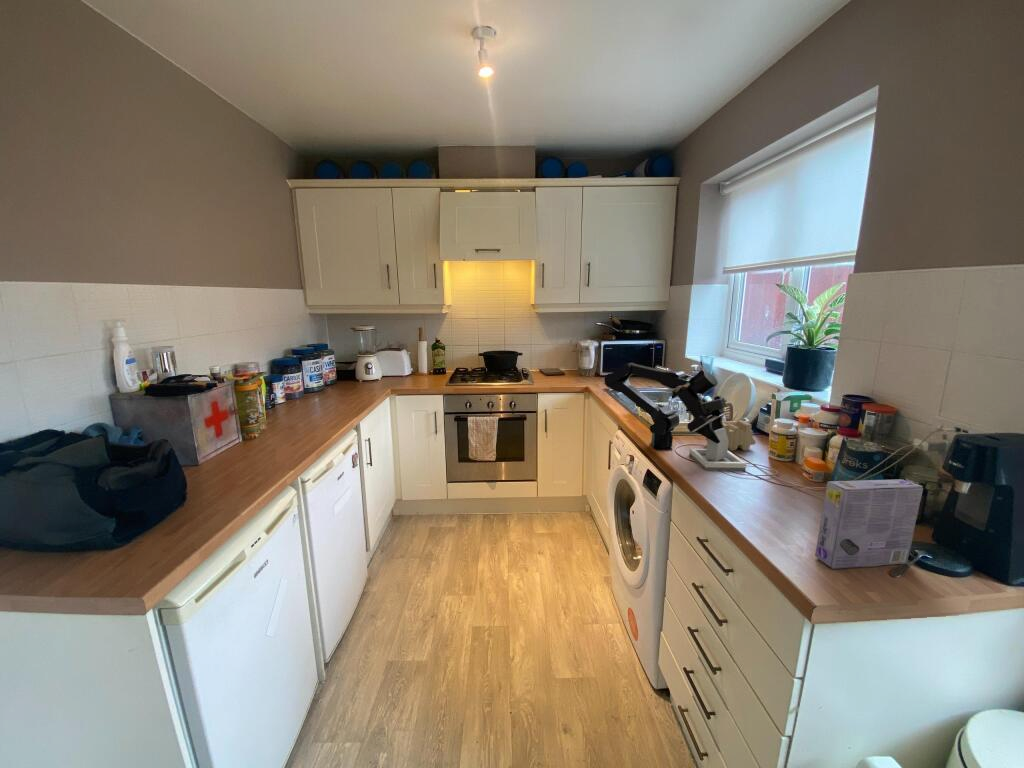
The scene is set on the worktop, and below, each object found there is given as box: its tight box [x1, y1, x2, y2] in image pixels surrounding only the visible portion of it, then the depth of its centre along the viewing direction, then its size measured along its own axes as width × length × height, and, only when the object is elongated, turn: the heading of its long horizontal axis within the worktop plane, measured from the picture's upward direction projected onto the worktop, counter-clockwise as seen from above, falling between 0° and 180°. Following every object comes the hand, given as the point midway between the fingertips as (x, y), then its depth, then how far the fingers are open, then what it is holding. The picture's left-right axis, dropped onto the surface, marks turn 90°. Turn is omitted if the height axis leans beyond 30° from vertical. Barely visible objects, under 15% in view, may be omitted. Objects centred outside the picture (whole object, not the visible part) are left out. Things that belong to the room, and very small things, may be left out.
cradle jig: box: [688, 448, 747, 472], centre depth 138 cm, size 13×13×2 cm
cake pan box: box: [814, 478, 924, 570], centre depth 85 cm, size 19×5×18 cm, turn 97°
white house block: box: [705, 428, 729, 461], centre depth 137 cm, size 4×7×10 cm, turn 125°
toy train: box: [705, 419, 757, 452], centre depth 151 cm, size 6×17×10 cm, turn 95°
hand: (722, 440), depth 136 cm, fingers closed on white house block, 7 cm apart
